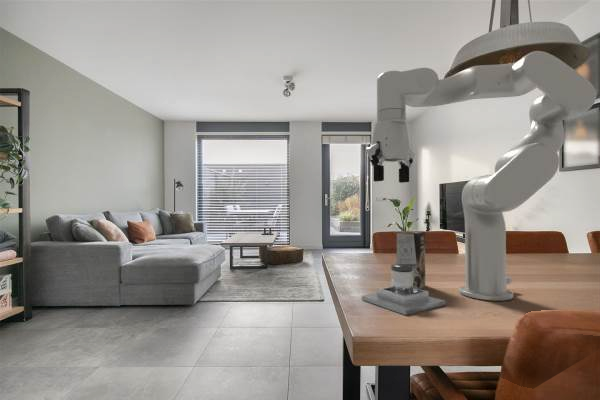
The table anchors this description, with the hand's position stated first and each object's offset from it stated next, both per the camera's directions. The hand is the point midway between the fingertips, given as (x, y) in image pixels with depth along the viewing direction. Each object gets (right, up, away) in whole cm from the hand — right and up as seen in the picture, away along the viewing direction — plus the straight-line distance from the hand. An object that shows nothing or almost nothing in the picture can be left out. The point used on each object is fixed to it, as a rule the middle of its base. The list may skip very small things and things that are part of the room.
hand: (391, 181), depth 91 cm
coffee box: (+8, -31, +7) cm, 32 cm away
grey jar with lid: (0, -29, -8) cm, 30 cm away
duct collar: (0, -30, -8) cm, 31 cm away
